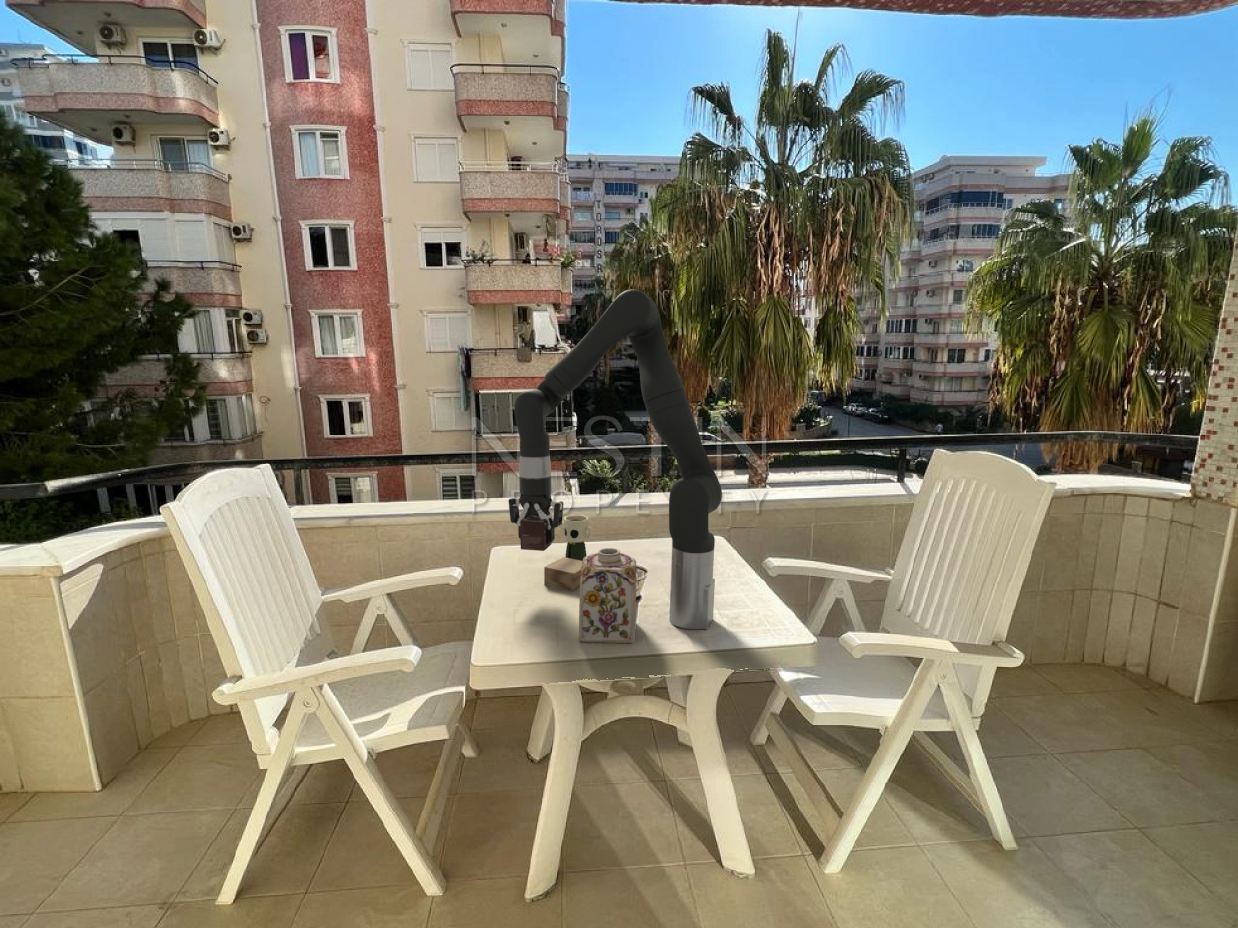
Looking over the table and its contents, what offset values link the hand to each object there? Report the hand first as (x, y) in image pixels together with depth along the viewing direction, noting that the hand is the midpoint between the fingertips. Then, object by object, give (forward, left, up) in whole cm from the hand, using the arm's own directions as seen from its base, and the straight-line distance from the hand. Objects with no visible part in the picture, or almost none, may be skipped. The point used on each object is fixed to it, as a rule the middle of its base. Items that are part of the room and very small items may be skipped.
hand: (536, 541), depth 144 cm
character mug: (+1, -25, -14) cm, 29 cm away
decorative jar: (-24, +12, -14) cm, 30 cm away
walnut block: (-4, -10, -14) cm, 18 cm away
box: (0, 0, -2) cm, 2 cm away
